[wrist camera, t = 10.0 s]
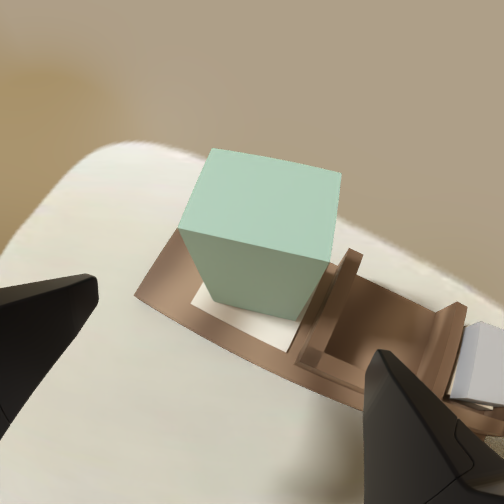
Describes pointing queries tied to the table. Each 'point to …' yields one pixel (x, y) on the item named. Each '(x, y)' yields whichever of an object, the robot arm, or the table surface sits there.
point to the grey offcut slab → (480, 366)
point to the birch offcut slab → (451, 381)
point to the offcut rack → (322, 331)
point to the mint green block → (261, 230)
